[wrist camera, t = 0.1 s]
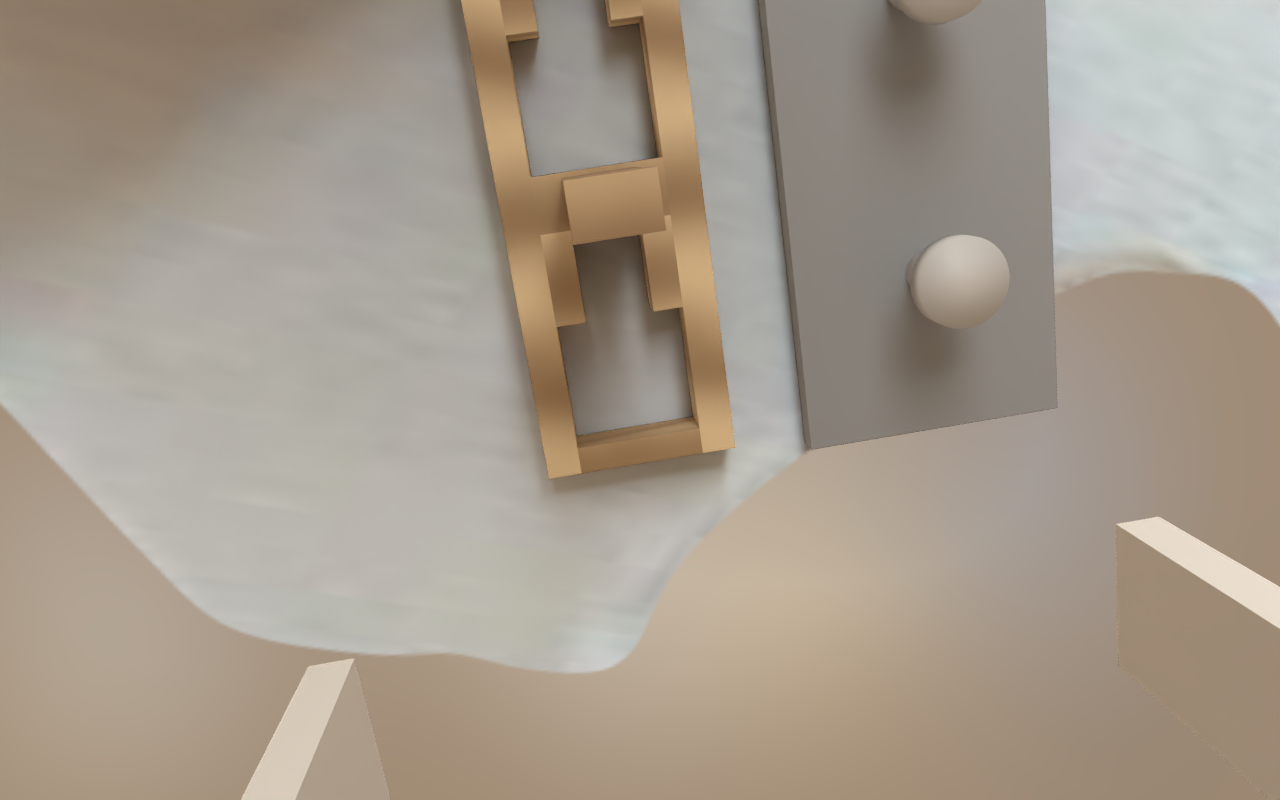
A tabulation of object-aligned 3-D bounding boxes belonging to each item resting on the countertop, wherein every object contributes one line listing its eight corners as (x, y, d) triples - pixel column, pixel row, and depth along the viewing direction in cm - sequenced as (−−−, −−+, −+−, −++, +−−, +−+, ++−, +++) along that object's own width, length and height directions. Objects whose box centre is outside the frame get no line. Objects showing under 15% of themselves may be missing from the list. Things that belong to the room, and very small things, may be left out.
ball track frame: (448, -88, 37) (398, -203, 26) (656, -117, 38) (699, -244, 26) (549, 465, 43) (545, 573, 32) (727, 435, 44) (787, 531, 32)
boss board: (738, -184, 37) (768, -240, 32) (1023, -222, 38) (1097, -285, 33) (804, 442, 44) (837, 478, 39) (1044, 401, 45) (1108, 432, 39)
